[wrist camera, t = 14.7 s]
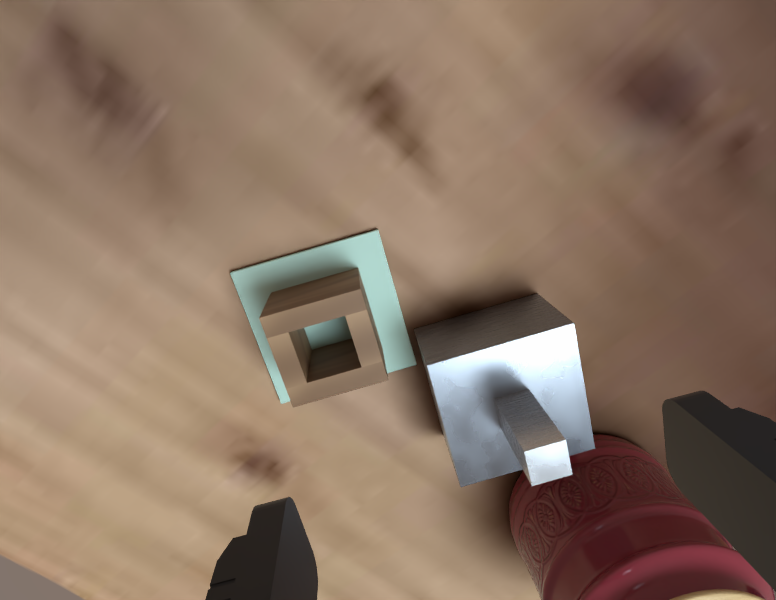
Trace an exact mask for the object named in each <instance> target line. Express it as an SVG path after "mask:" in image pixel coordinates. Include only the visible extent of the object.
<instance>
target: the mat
mask: <svg viewBox="0 0 776 600" xmlns="http://www.w3.org/2000/svg"><path fill="white" fill-rule="evenodd" d="M354 268H359V272H360V275H361V278H362V282H363V285H364V288H365V292H366V295H367V298H368V301H369V305H370V308H371V311H372V315H373V318H374V321H375V325H376V328H377V331H378V334H379V338H380V341H381V344H382V348H383V353H384V359H385V364H386V370H387V373H389V372H393V371H396V370H400V369H403V368H407V367H410V366H414V365H417V364H416V361H415V357H414V354H413V350H412V347H411V343H410V340H409V336H408V333H407V329H406V326H405V322H404V319H403V315H402V312H401V308H400V305H399V301H398V298H397V294H396V291H395V287H394V284H393V280H392V277H391V273H390V270H389V266H388V263H387V259H386V256H385V252H384V249H383V245H382V242H381V238H380V235H379V231H378V229H376V230H373V231H369V232H366V233H363V234H359V235H356V236H352V237H349V238H345V239H342V240H338V241H335V242H332V243H328V244H325V245H321V246H318V247H314V248H311V249H308V250H304V251H301V252H297V253H294V254H290V255H287V256H284V257H280V258H277V259H273V260H270V261H266V262H263V263H259V264H256V265H253V266H249V267H246V268H242V269H239V270H235V271H232V272H231V273H230V274H231V277H232V279H233V282H234V284H235V287H236V289H237V292H238V295H239V297H240V300H241V302H242V305H243V307H244V310H245V312H246V315H247V317H248V320H249V323H250V325H251V328H252V330H253V333H254V335H255V338H256V340H257V343H258V345H259V348H260V351H261V353H262V356H263V358H264V361H265V363H266V366H267V368H268V371H269V373H270V376H271V379H272V381H273V384H274V386H275V389H276V391H277V394H278V396H279V399H280V401H281V404H282V403H286V402H289V401H290V398H289V396H288V393H287V390H286V388H285V385H284V383H283V380H282V377H281V375H280V372H279V369H278V367H277V364H276V362H275V359H274V356H273V354H272V351H271V348H270V346H269V343H268V341H267V338H266V335H265V333H264V330H263V328H262V325H261V322H260V320H259V317H260V315H261V313H262V311H263V308H264V306H265V304H266V302H267V300H268V298H269V296H270V294H271V292H275V291H278V290H282V289H285V288H288V287H292V286H295V285H299V284H302V283H306V282H309V281H313V280H316V279H320V278H323V277H327V276H330V275H334V274H337V273H341V272H344V271H348V270H351V269H354ZM304 329H305V331H306V334H307V337H308V340H309V343H310V346H311V348H312V350H313V349H316V348H320V347H323V346H327V345H330V344H334V343H337V342H341V341H344V340H348V339H351V338H352V336H351V333H350V330H349V327H348V323H347V320H346V317H345V316H343V317H340V318H336V319H333V320H329V321H326V322H322V323H319V324H315V325H312V326H308V327H305V328H304Z"/></svg>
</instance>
